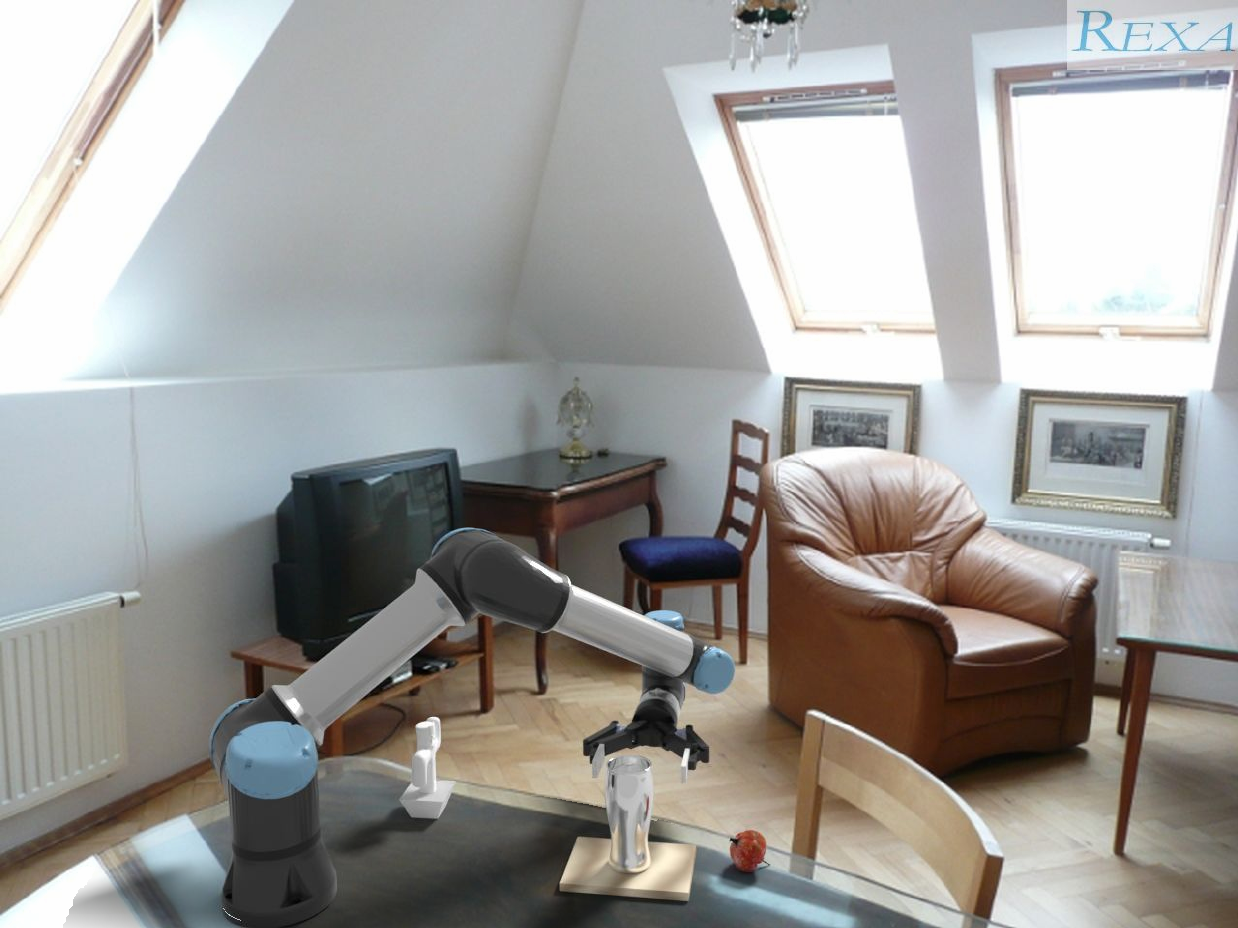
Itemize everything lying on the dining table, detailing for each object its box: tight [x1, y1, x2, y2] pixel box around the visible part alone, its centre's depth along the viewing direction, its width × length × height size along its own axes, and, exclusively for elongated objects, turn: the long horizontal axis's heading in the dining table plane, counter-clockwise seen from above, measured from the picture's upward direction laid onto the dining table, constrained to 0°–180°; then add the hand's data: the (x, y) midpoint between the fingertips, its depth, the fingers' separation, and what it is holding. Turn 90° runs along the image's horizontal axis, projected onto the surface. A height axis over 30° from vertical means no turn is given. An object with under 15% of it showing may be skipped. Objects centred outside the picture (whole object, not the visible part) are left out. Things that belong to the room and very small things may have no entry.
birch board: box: [559, 836, 697, 902], centre depth 150 cm, size 18×13×1 cm
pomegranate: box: [728, 829, 771, 873], centre depth 150 cm, size 6×6×8 cm
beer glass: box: [604, 754, 654, 874], centre depth 149 cm, size 7×7×15 cm
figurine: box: [398, 716, 456, 820], centre depth 167 cm, size 7×9×15 cm
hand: (638, 772), depth 157 cm, fingers open, 13 cm apart
